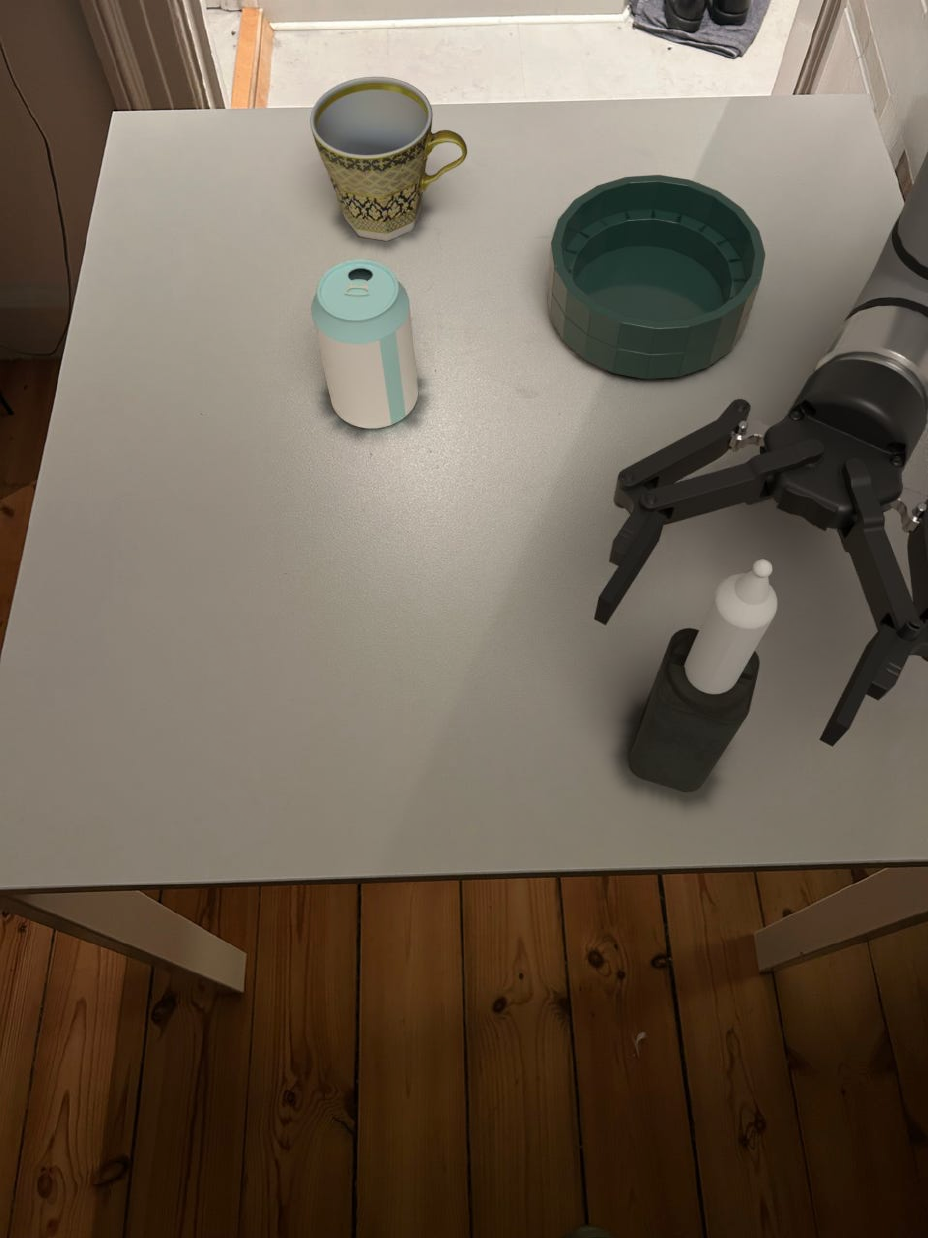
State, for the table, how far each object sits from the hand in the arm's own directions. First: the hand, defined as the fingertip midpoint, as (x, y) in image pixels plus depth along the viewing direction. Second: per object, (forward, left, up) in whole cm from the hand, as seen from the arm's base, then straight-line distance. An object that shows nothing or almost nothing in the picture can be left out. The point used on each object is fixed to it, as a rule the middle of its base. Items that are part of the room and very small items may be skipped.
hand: (713, 671), depth 53 cm
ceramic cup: (+44, -32, -15) cm, 57 cm away
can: (+34, -14, -15) cm, 40 cm away
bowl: (+20, -34, -14) cm, 42 cm away
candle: (0, -1, -15) cm, 15 cm away
